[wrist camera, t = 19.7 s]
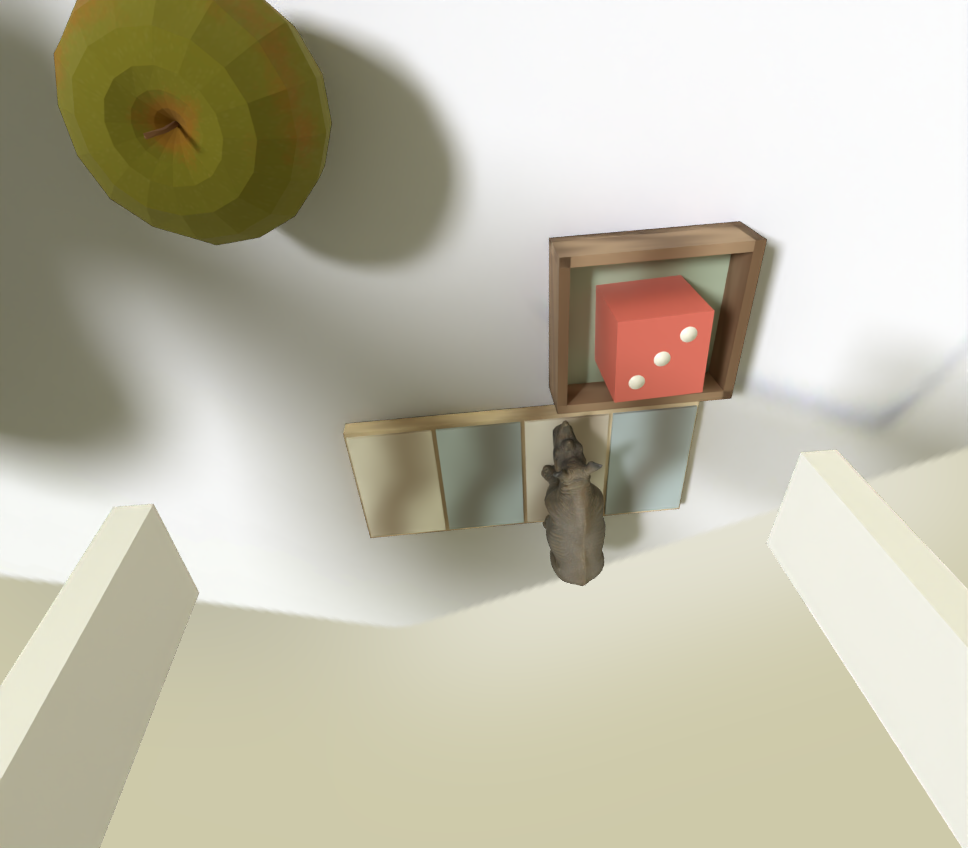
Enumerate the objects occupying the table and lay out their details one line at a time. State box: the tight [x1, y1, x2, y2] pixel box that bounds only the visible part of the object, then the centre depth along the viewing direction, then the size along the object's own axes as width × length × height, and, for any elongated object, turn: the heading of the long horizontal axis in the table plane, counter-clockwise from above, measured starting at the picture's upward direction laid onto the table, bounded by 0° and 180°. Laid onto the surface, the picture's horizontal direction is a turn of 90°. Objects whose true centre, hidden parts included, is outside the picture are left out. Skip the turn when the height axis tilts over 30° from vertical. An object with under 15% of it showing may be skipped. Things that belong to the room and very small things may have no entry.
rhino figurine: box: [541, 420, 605, 586], centre depth 39 cm, size 4×14×6 cm, turn 7°
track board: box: [343, 401, 699, 538], centre depth 41 cm, size 24×10×1 cm, turn 94°
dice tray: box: [549, 221, 767, 414], centre depth 34 cm, size 11×10×3 cm
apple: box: [54, 0, 332, 245], centre depth 23 cm, size 10×10×11 cm
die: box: [595, 275, 714, 403], centre depth 33 cm, size 5×5×5 cm
